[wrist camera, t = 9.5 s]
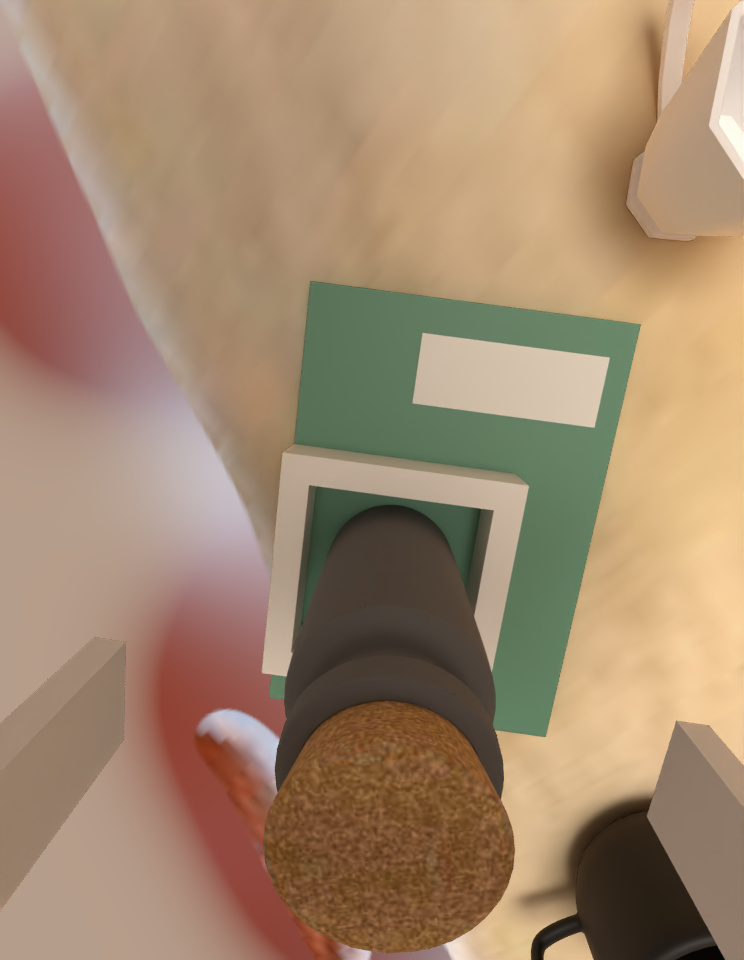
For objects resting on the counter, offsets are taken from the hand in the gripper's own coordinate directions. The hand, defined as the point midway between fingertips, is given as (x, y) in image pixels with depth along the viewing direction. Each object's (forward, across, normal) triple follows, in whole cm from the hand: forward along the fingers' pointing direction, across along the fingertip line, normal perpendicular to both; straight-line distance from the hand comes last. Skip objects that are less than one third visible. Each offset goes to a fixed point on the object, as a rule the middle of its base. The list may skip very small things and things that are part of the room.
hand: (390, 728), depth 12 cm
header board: (+13, +2, +1) cm, 13 cm away
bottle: (+12, 0, -1) cm, 12 cm away
